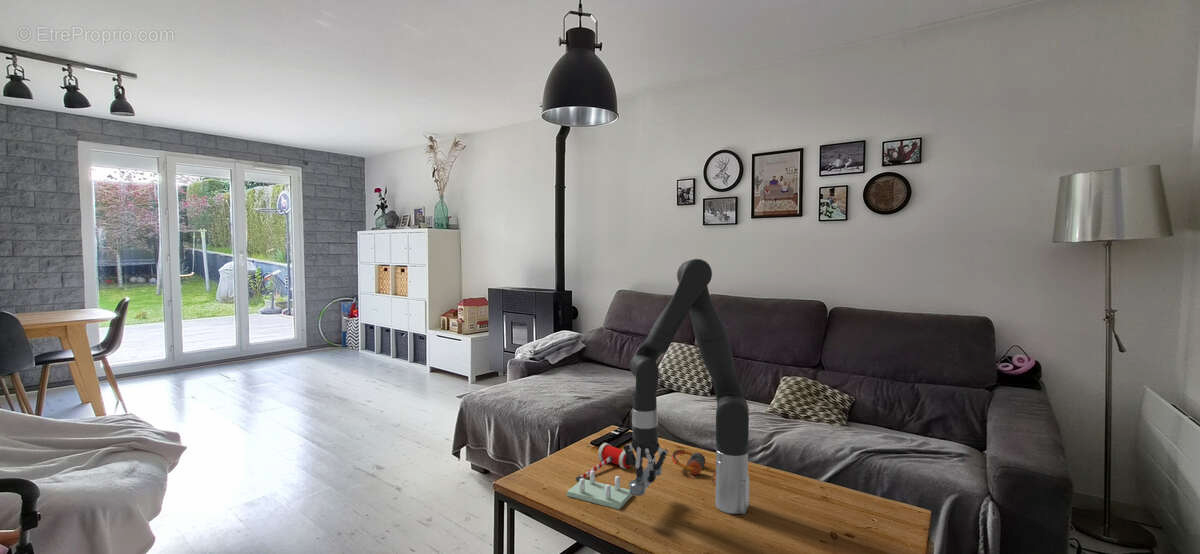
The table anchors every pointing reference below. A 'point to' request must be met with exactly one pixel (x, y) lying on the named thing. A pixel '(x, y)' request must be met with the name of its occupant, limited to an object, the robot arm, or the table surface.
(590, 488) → the tool rack
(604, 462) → the toy hammer
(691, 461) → the headphones
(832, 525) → the table surface
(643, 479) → the grey ball-ended rod
